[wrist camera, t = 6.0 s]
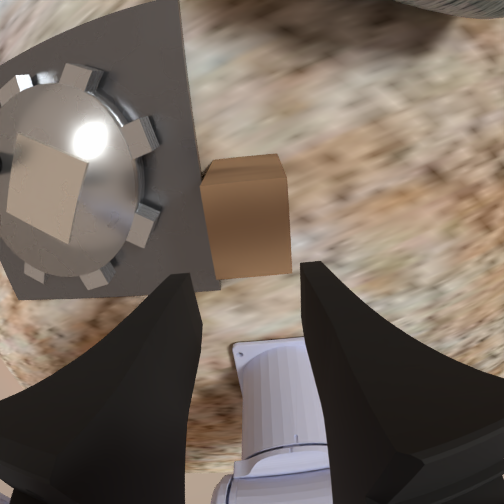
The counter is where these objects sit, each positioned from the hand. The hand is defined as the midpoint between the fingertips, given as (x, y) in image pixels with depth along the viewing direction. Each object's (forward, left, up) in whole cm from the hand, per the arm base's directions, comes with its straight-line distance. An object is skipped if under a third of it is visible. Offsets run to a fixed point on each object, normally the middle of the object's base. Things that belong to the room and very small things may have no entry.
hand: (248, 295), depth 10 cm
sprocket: (+3, +12, -9) cm, 15 cm away
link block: (0, 0, -10) cm, 10 cm away
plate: (+3, +12, -9) cm, 15 cm away
